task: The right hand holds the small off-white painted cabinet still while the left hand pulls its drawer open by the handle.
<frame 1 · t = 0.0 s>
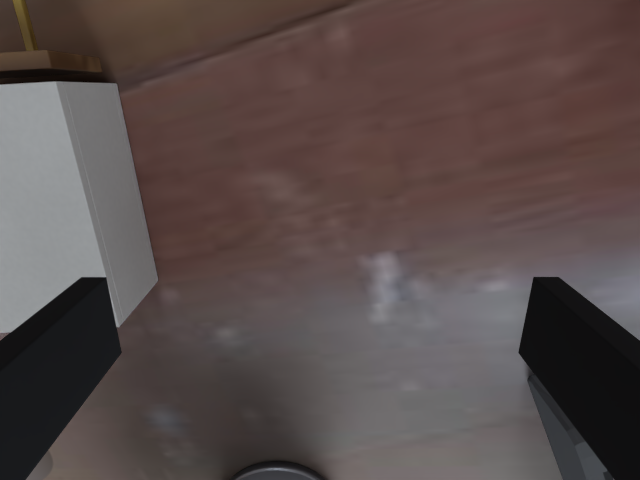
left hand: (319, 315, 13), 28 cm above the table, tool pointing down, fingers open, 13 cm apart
cabinet: (82, 193, 40), on the table
handheld gaming console: (558, 434, 51), on the table
drawer: (35, 140, 34), point 5 cm above the table, slide at 0.9 cm
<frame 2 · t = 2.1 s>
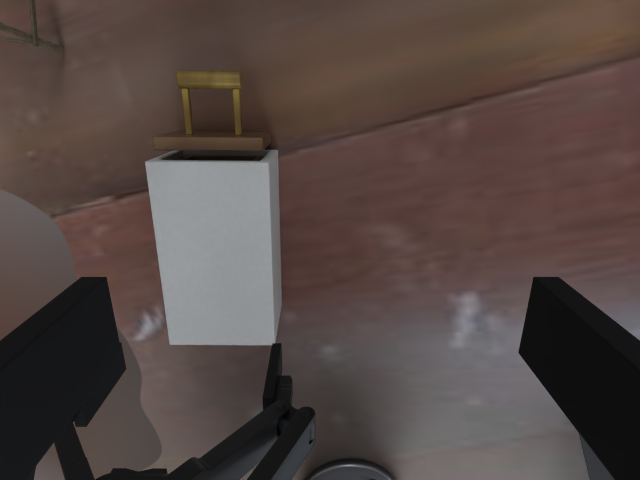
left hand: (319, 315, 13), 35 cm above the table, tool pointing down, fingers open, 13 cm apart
cabinet: (233, 231, 49), on the table
handheld gaming console: (591, 447, 61), on the table
miniature windmill: (21, 1, 41), on the table
drawer: (221, 195, 43), point 5 cm above the table, slide at 0.9 cm
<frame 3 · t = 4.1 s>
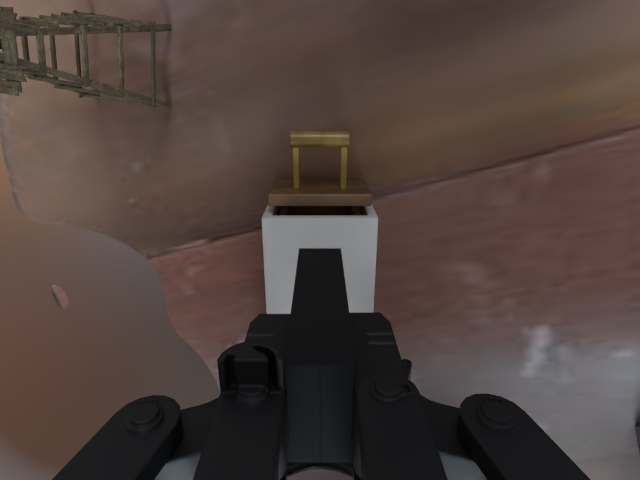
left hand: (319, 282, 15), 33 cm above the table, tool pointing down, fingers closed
cabinet: (319, 271, 51), on the table, touching right hand
miniature windmill: (133, 62, 43), on the table
drawer: (319, 242, 45), point 5 cm above the table, slide at 0.9 cm
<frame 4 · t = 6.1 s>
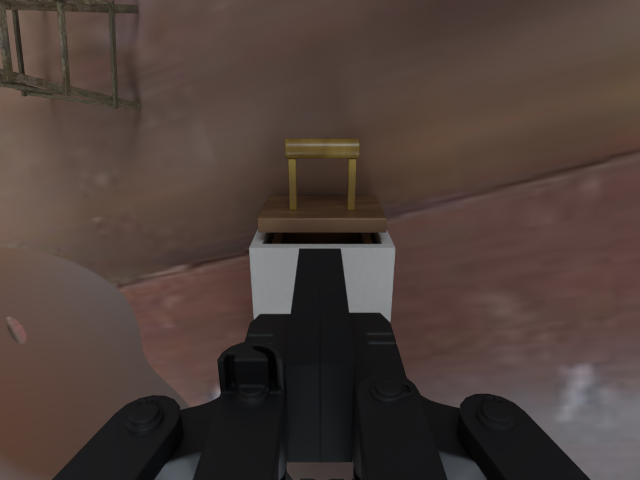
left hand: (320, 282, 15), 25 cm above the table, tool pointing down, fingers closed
cabinet: (321, 302, 43), on the table, touching right hand
miniature windmill: (93, 52, 35), on the table
drawer: (322, 272, 37), point 5 cm above the table, slide at 0.9 cm
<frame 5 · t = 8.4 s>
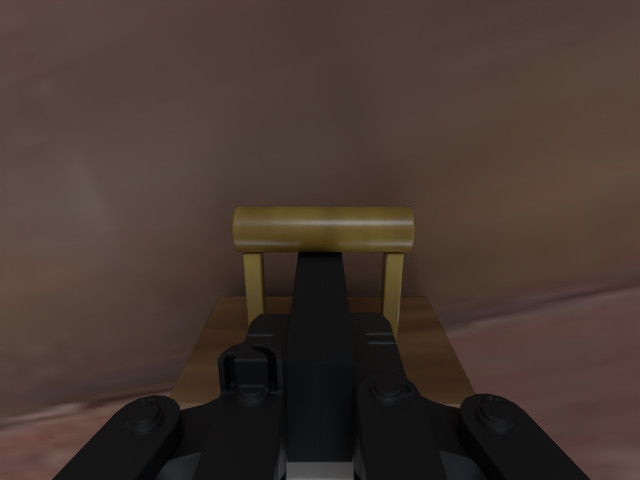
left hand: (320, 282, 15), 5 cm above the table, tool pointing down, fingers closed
cabinet: (322, 461, 25), on the table, touching right hand
drawer: (322, 457, 19), point 5 cm above the table, slide at 0.9 cm
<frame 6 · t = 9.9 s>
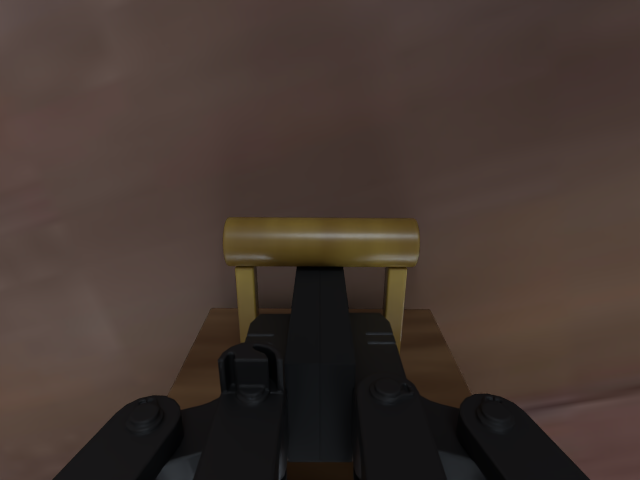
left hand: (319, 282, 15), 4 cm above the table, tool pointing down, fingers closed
drawer: (319, 478, 18), point 5 cm above the table, slide at 6.7 cm, touching left hand
when the right hand's fingers open (5 cm above the table, at t = 11.8 s): cabinet stays where it is, on the table.
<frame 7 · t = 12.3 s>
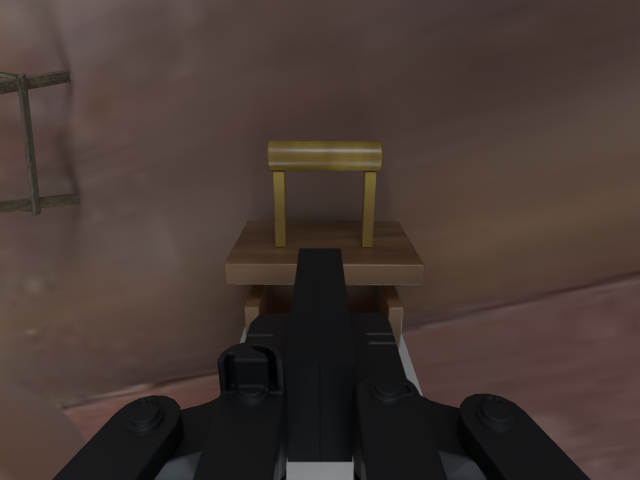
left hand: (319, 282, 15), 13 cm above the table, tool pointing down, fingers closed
cabinet: (321, 419, 34), on the table
miniature windmill: (12, 130, 26), on the table
drawer: (322, 332, 26), point 5 cm above the table, slide at 6.8 cm
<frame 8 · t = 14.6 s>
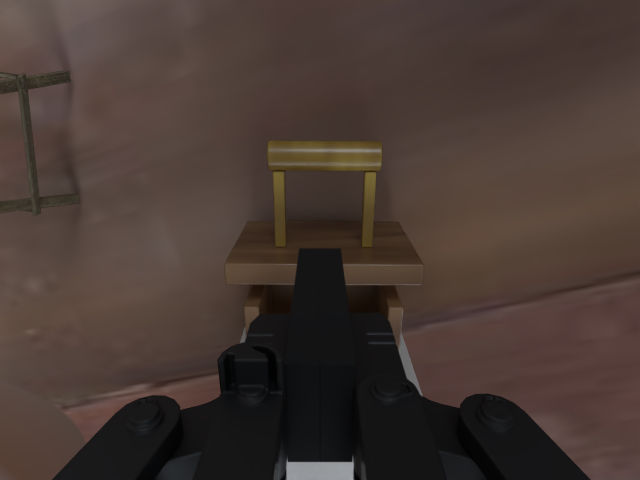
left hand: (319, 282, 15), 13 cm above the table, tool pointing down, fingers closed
cabinet: (321, 419, 34), on the table
miniature windmill: (12, 130, 26), on the table
drawer: (322, 332, 26), point 5 cm above the table, slide at 6.8 cm
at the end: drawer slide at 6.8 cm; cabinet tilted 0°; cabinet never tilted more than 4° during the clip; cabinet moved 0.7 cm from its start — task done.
